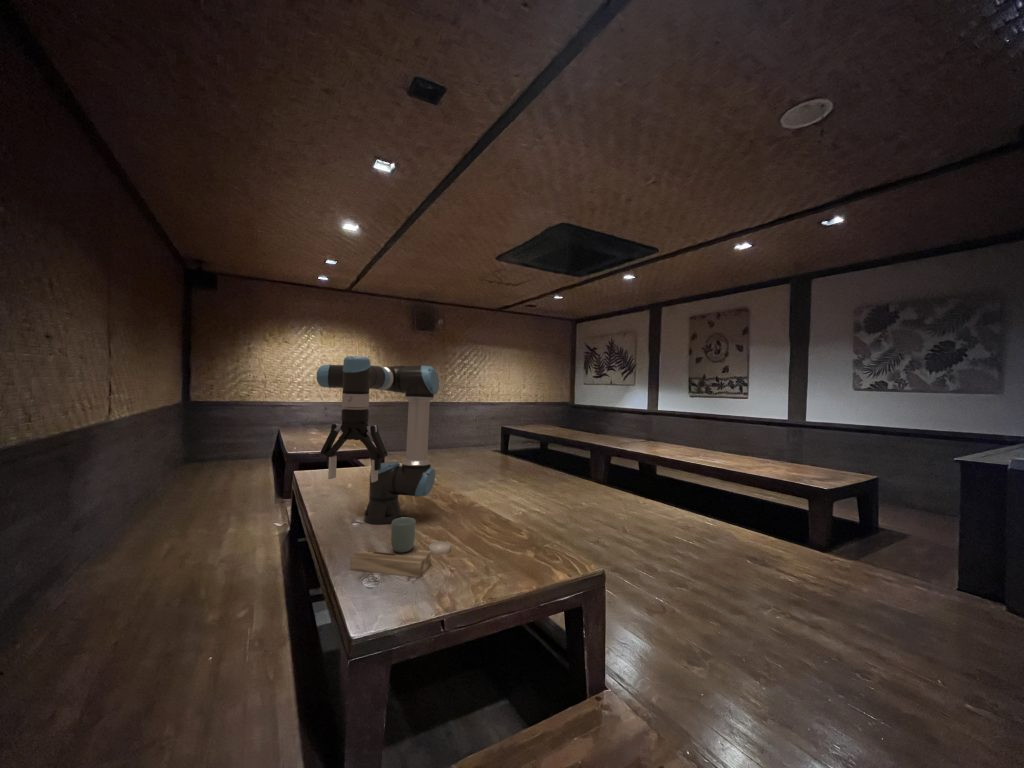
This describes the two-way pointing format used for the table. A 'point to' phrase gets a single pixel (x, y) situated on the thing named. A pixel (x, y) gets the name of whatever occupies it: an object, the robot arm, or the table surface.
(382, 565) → the wooden block
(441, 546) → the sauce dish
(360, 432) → the robot arm
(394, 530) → the cup
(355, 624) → the table surface
